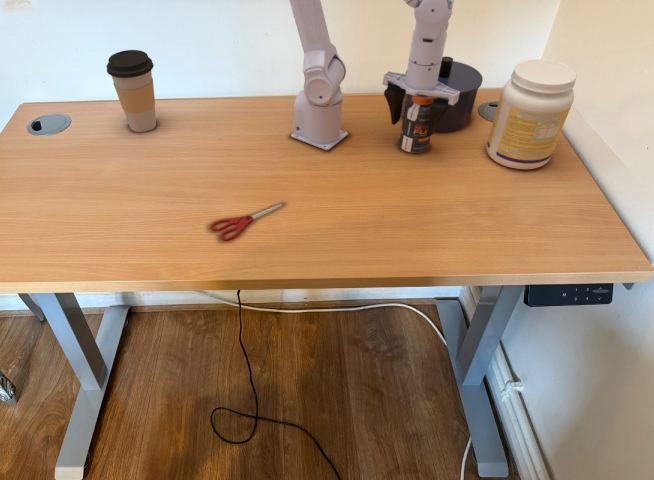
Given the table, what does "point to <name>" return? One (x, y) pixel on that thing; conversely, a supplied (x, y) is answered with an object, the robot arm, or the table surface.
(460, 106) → the pot
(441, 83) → the robot arm
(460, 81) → the pot lid
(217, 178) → the table surface
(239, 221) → the scissors
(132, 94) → the coffee cup
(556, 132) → the supplement tub
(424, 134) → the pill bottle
